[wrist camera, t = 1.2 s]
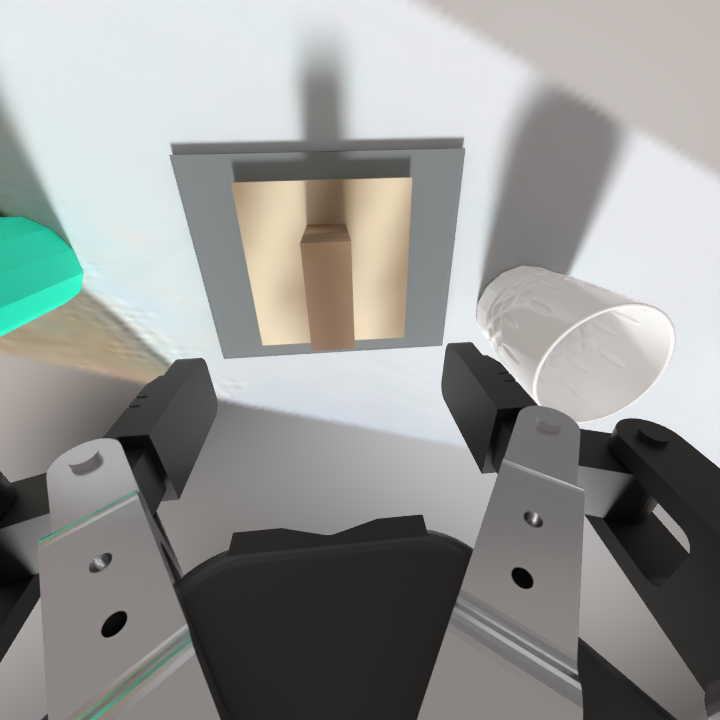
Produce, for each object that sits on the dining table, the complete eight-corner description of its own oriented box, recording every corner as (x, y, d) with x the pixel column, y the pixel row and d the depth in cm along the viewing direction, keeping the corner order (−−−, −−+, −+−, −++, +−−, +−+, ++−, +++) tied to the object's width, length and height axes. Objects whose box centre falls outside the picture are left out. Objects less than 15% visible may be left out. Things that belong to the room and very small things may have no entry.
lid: (408, 177, 21) (441, 181, 15) (401, 331, 27) (423, 379, 21) (234, 182, 21) (196, 187, 14) (264, 339, 26) (245, 391, 20)
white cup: (573, 317, 28) (682, 383, 19) (488, 363, 30) (553, 442, 21) (548, 236, 24) (669, 273, 16) (453, 293, 26) (514, 355, 17)
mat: (462, 148, 21) (465, 148, 21) (440, 342, 28) (442, 345, 28) (172, 155, 20) (169, 155, 20) (225, 355, 27) (223, 358, 27)
